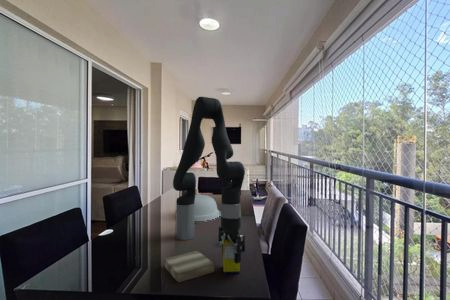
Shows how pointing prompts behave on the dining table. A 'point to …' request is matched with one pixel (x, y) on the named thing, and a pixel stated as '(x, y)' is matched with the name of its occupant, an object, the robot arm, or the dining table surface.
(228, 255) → the supplement box
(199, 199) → the dome cover
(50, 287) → the dining table surface
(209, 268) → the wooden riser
